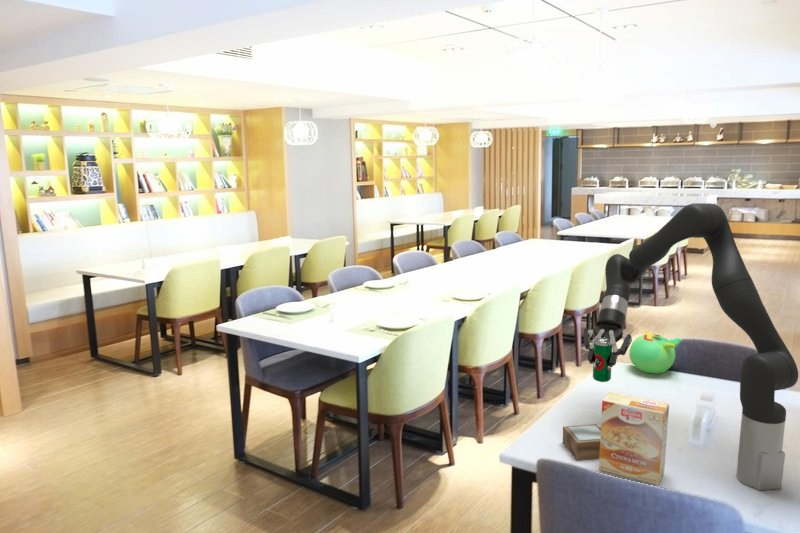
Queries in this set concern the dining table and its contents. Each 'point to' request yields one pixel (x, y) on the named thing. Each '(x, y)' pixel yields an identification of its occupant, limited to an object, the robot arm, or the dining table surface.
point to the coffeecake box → (633, 437)
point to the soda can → (602, 359)
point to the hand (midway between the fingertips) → (600, 363)
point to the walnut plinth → (583, 441)
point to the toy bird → (653, 353)
